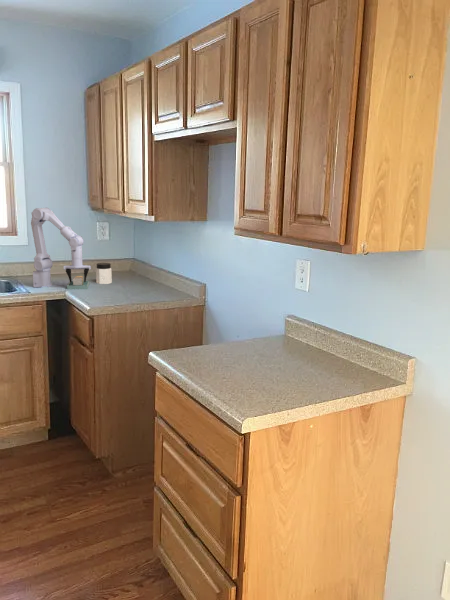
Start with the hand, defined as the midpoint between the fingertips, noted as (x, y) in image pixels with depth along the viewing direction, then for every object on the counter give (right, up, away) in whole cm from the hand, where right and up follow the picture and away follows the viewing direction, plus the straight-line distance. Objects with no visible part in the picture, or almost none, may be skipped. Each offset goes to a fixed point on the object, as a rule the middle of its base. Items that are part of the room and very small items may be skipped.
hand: (77, 282), depth 290 cm
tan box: (-1, -1, +8) cm, 9 cm away
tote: (-1, -3, +4) cm, 5 cm away
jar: (+10, 0, +18) cm, 21 cm away
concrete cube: (0, -3, 0) cm, 3 cm away
